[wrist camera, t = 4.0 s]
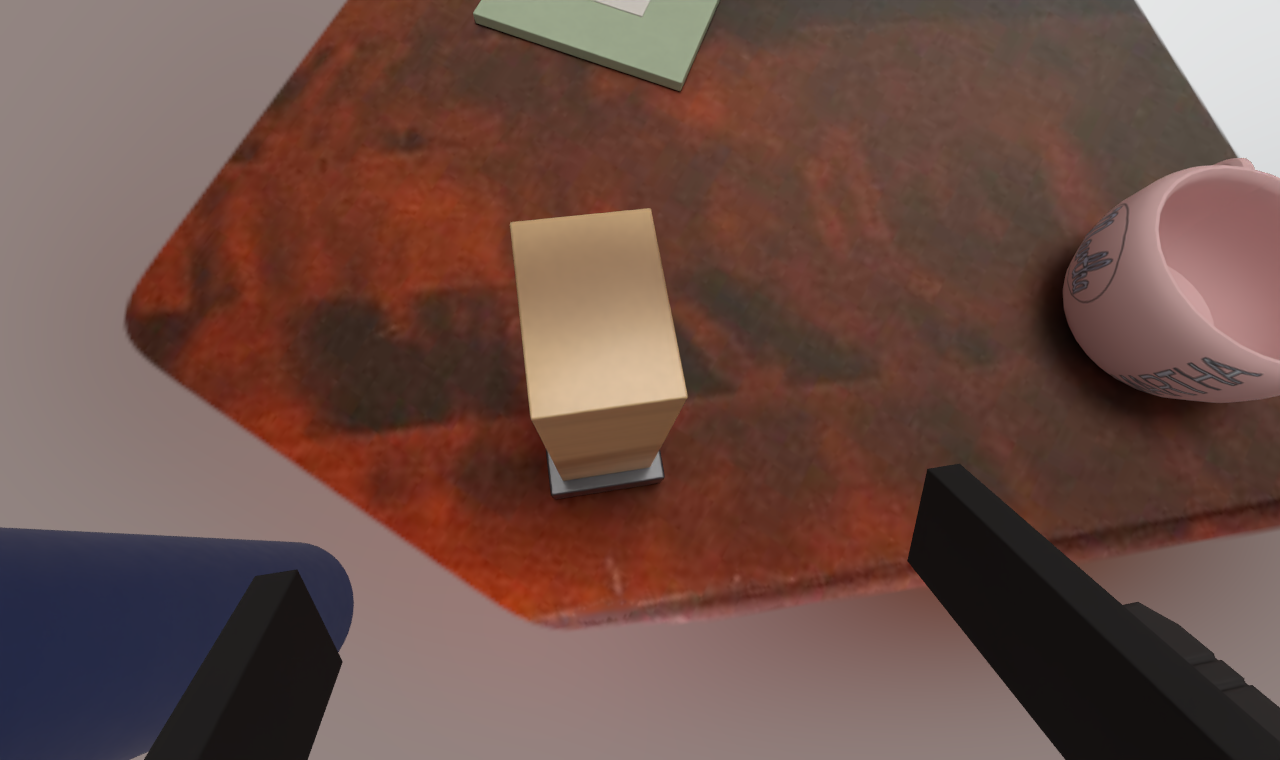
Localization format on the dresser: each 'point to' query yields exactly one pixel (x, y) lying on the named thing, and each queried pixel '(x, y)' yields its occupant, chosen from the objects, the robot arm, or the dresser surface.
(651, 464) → the eraser
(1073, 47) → the dresser surface
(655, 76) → the chalk board
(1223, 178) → the mug
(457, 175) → the dresser surface
